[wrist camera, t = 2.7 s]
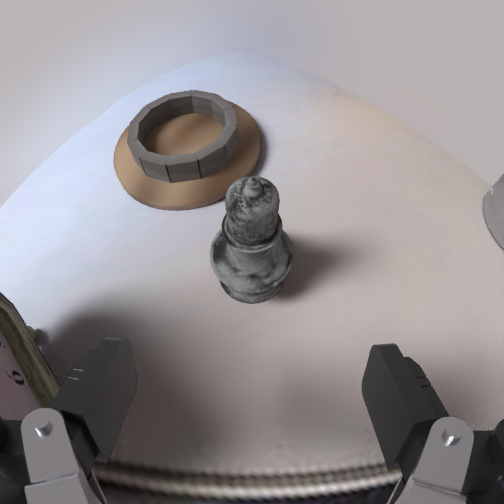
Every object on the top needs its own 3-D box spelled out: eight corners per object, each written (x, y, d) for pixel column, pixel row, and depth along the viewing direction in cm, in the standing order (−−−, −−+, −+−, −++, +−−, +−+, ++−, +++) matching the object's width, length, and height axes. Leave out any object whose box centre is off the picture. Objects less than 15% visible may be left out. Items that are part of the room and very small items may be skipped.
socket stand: (279, 120, 34) (282, 94, 30) (223, 231, 28) (220, 208, 24) (163, 95, 36) (157, 72, 32) (91, 186, 30) (77, 164, 26)
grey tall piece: (301, 286, 26) (338, 200, 15) (235, 320, 24) (223, 253, 14) (265, 228, 28) (274, 122, 17) (202, 257, 27) (173, 160, 16)
